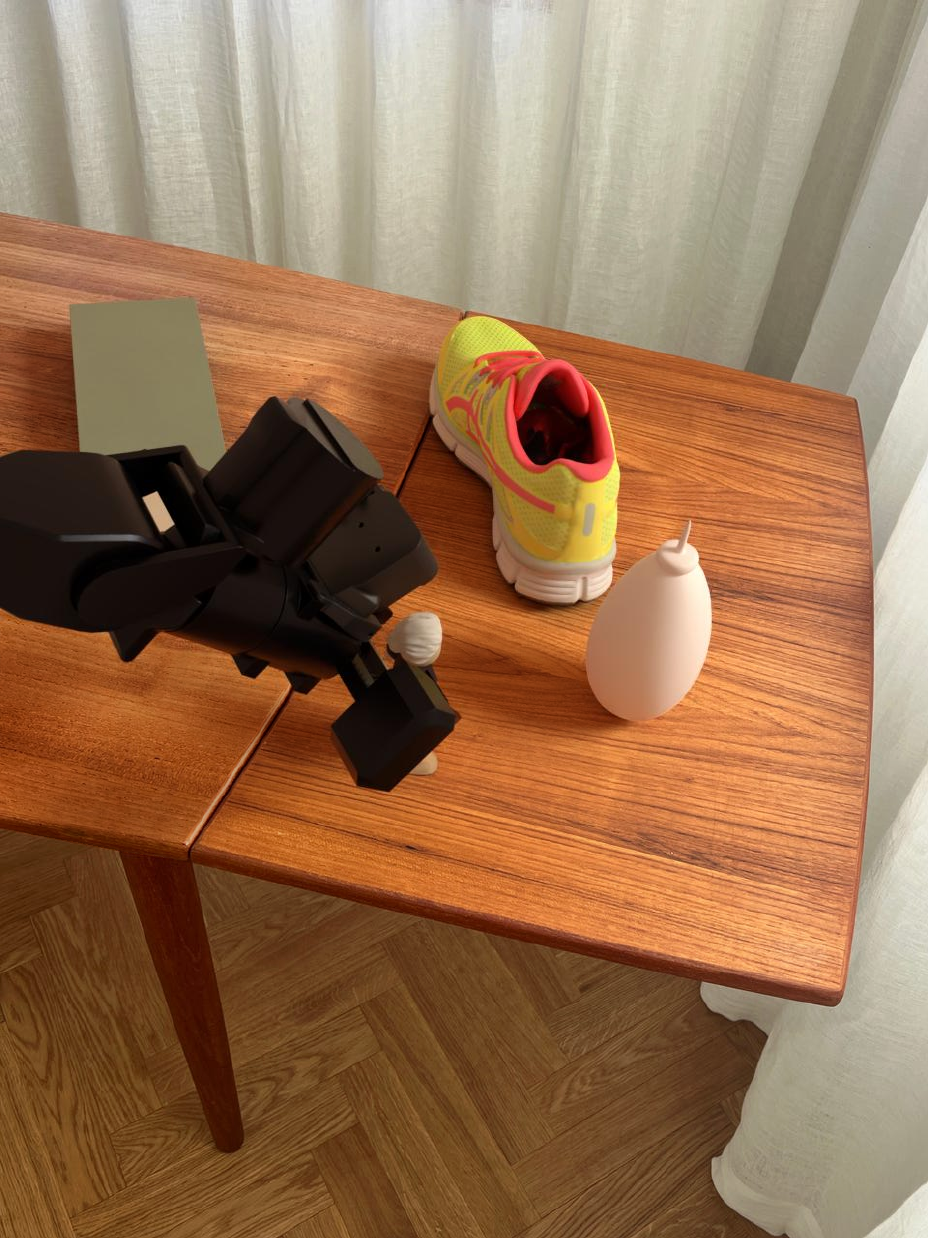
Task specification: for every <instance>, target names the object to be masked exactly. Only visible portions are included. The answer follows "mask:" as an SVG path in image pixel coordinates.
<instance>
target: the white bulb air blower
mask: <svg viewBox="0 0 928 1238" xmlns="http://www.w3.org/2000/svg"><path fill="white" fill-rule="evenodd" d="M691 527H692V521H691V520H688V521H686V524H685V525H684V528H683V530H682V532H681V535H680V537H679V539H676V538H675V539H673V538H672V539H668V540H665V541H664V542H662V543H661V544H660V545H659V546H658V548H657V549H656V550H654V551H652V552H650V553H649V554H646V555H645V556H644V557H642V558H641V559H639V560H638V561H636V563H634V564H632V566H630V568H629V569H627V571H626V572H624V574H623V575H622V576H620V577H619V579H618V580H617V581H616V582H615V583H614V585H613V586H612V588H611V589H610V590H609V591H608V593H607V595H606V596H605V598H604V599H603V600H602V602H601V603H600V606H599V608H598V610H597V611H596V614H595V617H594V619H593V622H592V623H591V626H590V630H589V633H588V637H587V641H586V649H585V670H586V676H587V681H588V684H589V687H590V689H591V691H592V692H593V694H594V697H595V698H596V700H597V701H598V703H599V704H600V705H601V706H602V707H603V708H604V709H606V711H608V712H610V713H611V714H612V715H614V716H616V717H618V718H621V719H623V720H626V721H630V722H646V721H647V722H648V721H651V720H653V719H656V718H658V717H661V716H663V715H664V714H666V713H667V712H669V711H670V710H672V709H673V708H675V707H676V706H677V705H678V704H679V703H680V702H681V701H682V700H683V699H684V697H685V696H686V695H687V694H688V693H689V691H690V690H691V689H692V687H693V686H694V684H695V682H696V681H697V678H698V676H699V675H700V673H701V670H702V669H703V666H704V664H705V661H706V658H707V653H708V649H709V647H710V641H711V636H712V627H713V626H712V624H713V622H712V621H713V620H712V617H713V615H712V614H713V613H712V600H711V593H710V589H709V585H708V582H707V579H706V576H705V573H704V571H703V569H702V566H700V564H699V561H700V556H699V552H698V550H697V549H696V548H695V547H694V546H693V545H692V544H690V543H688V539H689V536H690V531H691Z"/></svg>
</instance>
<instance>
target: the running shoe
mask: <svg viewBox="0 0 928 1238" xmlns="http://www.w3.org/2000/svg"><path fill="white" fill-rule="evenodd" d="M431 376H432V377H431V381H430V387H429V397H428V398H429V400H428V403H429V416H430V418H432V424H433V429H434V431H435V434H436V435H437V436H438V437H439V438H440V440H441V442H442V443H443V445H444V447H445V448H446V449H447V450H448V451H449V452H450V453H454V455H455V457H457V461H458V463H460V464H461V465H462V466H463V467H465V468H466V469H469V470H470V471H472V472H473V473H475V475H476V477H478V478H479V479H480V480H481V481H482V482H483V483H485V484H486V486H487V487H488V488H489V489H490V490H491V491H492V503H493V507H492V508H493V518H492V548H493V552H495V553H496V554H495V559H496V561H495V563H496V566H497V569H498V571H499V572H500V575H501V576H502V578H503V580H504V581H505V582H506V583H507V584H508V585H510V586H512V585H514V589H515V593H517V595H519V596H522V597H523V598H526V599H529V600H531V601H534V602H537V603H541V604H546V605H551V606H552V605H553V606H573V605H575V603H576V602H577V601H579V602H581V603H583V604H589V603H591V602H594V601H595V600H598V599H599V598H601V597H602V596H603V595H605V593H606V592H607V591H608V589H609V587H610V586H611V584H612V583H613V582H612V581H613V576H614V575H613V574H614V573H613V572H614V571H613V565H612V563H613V561H614V560H615V558H616V555H617V542H616V537H615V536H616V532H617V527H618V498H619V492H620V479H621V471H620V467H619V464H618V461H617V460H618V459H617V454H616V448H615V440H614V434H613V430H612V426H611V423H610V418H609V413H608V410H607V407H606V404H605V401H604V400H603V398H602V395H600V393H599V391H598V389H597V388H596V387H595V386H594V385H593V383H592V382H591V381H589V380H588V379H587V378H586V377H584V375H583V374H582V373H581V372H580V371H578V369H576V368H575V367H574V366H573V365H572V364H571V363H570V362H568V361H565V360H563V359H560V358H558V359H557V358H552V359H546V358H545V357H544V355H543V354H542V353H541V351H540V350H539V349H538V348H537V347H536V346H535V345H534V344H533V343H532V342H531V341H529V340H528V339H527V338H526V337H524V336H523V335H522V334H520V332H518V331H517V330H515V328H512V327H511V326H510V325H508V324H506V323H504V322H502V321H500V320H499V319H496V318H494V317H489V316H485V315H478V316H477V315H475V316H469V317H466V318H462V320H459V321H458V322H456V323H455V324H454V325H453V326H452V328H450V330H449V331H448V333H447V334H446V335H445V337H444V338H443V341H442V343H441V346H440V350H439V354H438V356H437V359H436V362H435V366H434V369H433V372H432V375H431Z"/></svg>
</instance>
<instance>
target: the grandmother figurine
mask: <svg viewBox="0 0 928 1238" xmlns="http://www.w3.org/2000/svg"><path fill="white" fill-rule="evenodd" d="M442 643H443V627H442V624H441V621H440V617H439V616H438V615H436V614H435V613H433V612H429V611H417V612H414V613H411V614H409V615H408V616H405V617H404V618H403V619H401V620H400V621H398V623H397V624H396V625H395V626H394V628H393V630H392V631H390V632H389V634H388V635H387V638H386V647H385V649H384V653H383V656H384V660H386V662H389V663H393V665H392V668H394V667H397V666H399V665H402V664H405V663H409V664H411V665H414V666H416V667H419V668H420V669H421V670H422V671H423V672H425V671H426V670H428V671H429V672H430V674H431V675H432V677H433V678H434V680H435V681H436V683H437V684H438V676H437V673H436V671H435V668H434V665H433V663H434V662H435V661H437V659H438V658H439V656H440V653H441V652H442V651H441V649H442ZM438 764H439V762H438V757H437V755H436V754H435V752H433V751H432V752H431V753H430V754H429V755H428V756H426V757H425V758H424V759H423V760H422V761H421V762H420V763H419V764H418V765H417V766H416V767H415V768H414V769H413V770H412V771H411V772H410V773H409V774H408V775H419V776H428V775H432V774H433V773H435V772H436V770H437V769H438Z"/></svg>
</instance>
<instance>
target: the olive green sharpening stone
mask: <svg viewBox="0 0 928 1238" xmlns="http://www.w3.org/2000/svg"><path fill="white" fill-rule="evenodd" d="M196 299H197V298H196V297H195V296H190V297H174V298H157V299H156V298H155V299H139V300H138V299H137V300H121V301H119V300H118V301H102V302H86V303H69V304H68V307H69V308H68V309H69V323H70V336H71V337H70V338H71V350H72V351H71V352H72V364H73V365H72V366H73V378H74V390H75V406H76V419H77V432H78V434H77V435H78V446H79V452H91V453H99V454H103V455H110V454H118V453H125V452H133V451H139V450H143V449H155V448H162V447H170V446H177V445H185V446H186V447H187V448H188V449H189V451H190V452H191V454H192V456H193V457H194V459H195V461H196V463H197V464H198V466H200V467H202V468H204V469H206V470H208V471H210V470H211V469H212V468H213V467H214V466H215V464H216V463H217V462H218V461H219V460H220V459H221V457H222V456H223V455H224V454H225V453H226V452H227V449H226V443H225V438H224V433H223V428H222V423H221V418H220V414H219V413H220V412H219V409H218V404H217V399H216V394H215V388H214V384H213V383H214V382H213V378H212V374H211V369H210V364H209V359H208V354H207V349H206V344H205V339H204V333H203V330H202V329H203V328H202V323H201V320H200V314H199V308H198V304H197V300H196ZM143 499H144V501H145V503H146V505H147V507H148V509H149V511H150V513H151V515H152V517H153V519H154V521H155V523H156V524H157V526H158V528H159V530H160V532H161V531H166V530H167V529H168V528H170V527H171V526H173V525H174V522H173V521H172V519H171V517H170V515H169V513H168V511H167V509H166V507H165V506H164V504H163V502H162V500H161V498H160V496H159V494H158V492H155V493H152V494H150V495H147V496H145V497H143Z"/></svg>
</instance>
